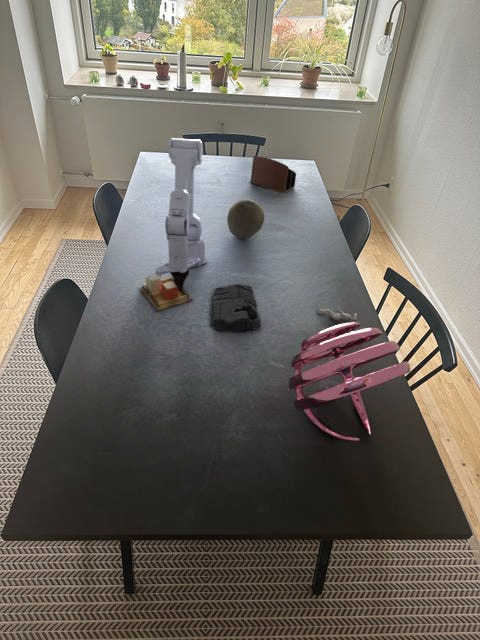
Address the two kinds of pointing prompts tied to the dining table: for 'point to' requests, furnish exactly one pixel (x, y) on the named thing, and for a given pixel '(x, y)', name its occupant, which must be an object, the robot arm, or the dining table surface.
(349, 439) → the pink slatted stand
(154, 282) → the cream panelled block
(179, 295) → the divided wooden tray
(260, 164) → the letter holder
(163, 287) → the red block with panel
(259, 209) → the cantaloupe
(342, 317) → the soldier figure
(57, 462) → the dining table surface
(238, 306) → the dark slate chunk
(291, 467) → the dining table surface
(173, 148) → the robot arm
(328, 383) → the dining table surface
